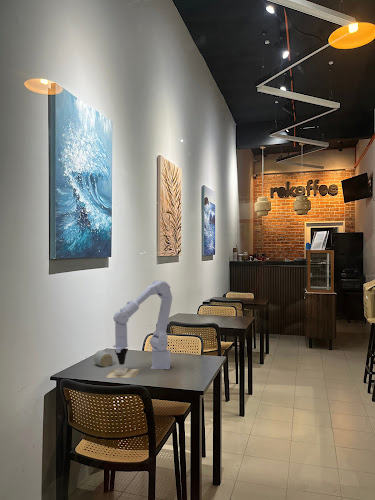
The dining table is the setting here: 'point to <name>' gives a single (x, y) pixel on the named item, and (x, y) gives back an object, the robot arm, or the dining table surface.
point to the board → (130, 374)
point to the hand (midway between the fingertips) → (121, 364)
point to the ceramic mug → (103, 359)
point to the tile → (120, 371)
